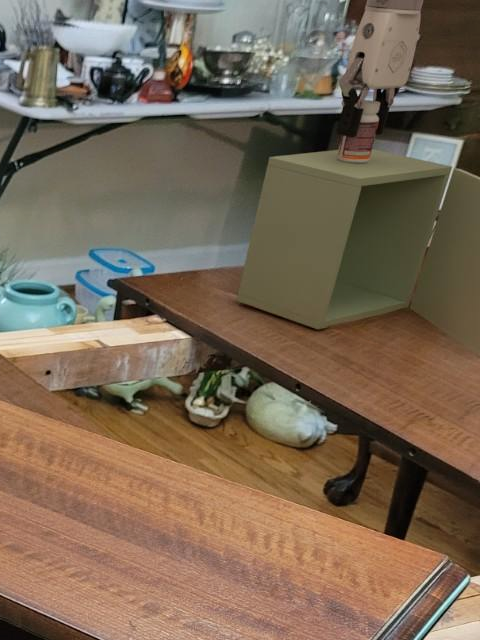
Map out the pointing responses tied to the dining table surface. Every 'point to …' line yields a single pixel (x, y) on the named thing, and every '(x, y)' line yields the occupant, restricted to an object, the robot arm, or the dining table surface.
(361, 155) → the pill bottle
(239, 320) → the dining table surface
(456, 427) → the dining table surface
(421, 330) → the dining table surface
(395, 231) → the cupboard
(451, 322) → the cupboard door
